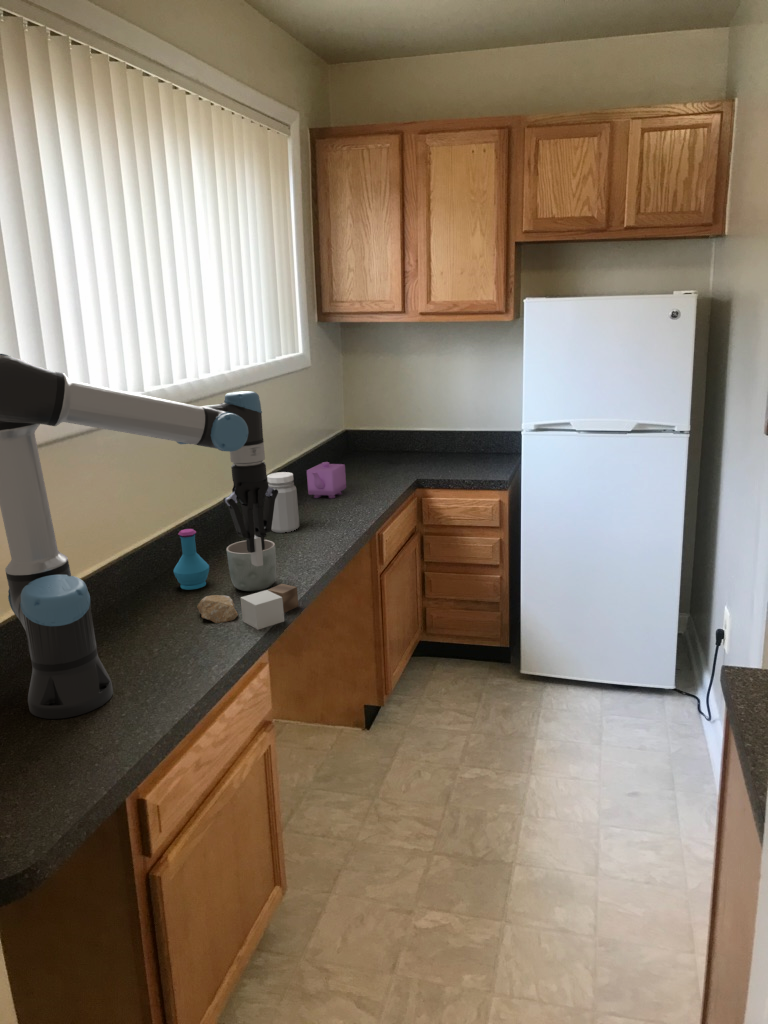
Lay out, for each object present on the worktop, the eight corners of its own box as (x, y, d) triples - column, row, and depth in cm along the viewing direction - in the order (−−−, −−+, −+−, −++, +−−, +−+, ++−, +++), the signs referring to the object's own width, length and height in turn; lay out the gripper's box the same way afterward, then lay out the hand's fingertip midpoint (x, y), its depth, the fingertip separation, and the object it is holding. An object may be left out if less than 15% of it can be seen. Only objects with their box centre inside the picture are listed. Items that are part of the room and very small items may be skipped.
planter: (242, 598, 210) (238, 556, 207) (223, 585, 220) (218, 545, 217) (286, 586, 217) (283, 546, 214) (265, 575, 227) (262, 536, 224)
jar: (295, 533, 265) (291, 477, 260) (265, 533, 267) (260, 478, 262) (303, 525, 274) (299, 471, 270) (274, 525, 276) (269, 471, 271)
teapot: (325, 489, 323) (322, 457, 320) (349, 490, 319) (347, 458, 316) (302, 502, 305) (299, 468, 302) (327, 503, 301) (324, 469, 298)
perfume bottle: (192, 577, 228) (186, 524, 224) (218, 582, 223) (212, 527, 219) (168, 588, 220) (161, 533, 217) (194, 593, 216) (187, 537, 212)
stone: (231, 606, 206) (229, 588, 205) (239, 620, 196) (238, 602, 195) (196, 612, 203) (194, 594, 202) (203, 627, 194) (201, 608, 192)
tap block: (257, 630, 190) (255, 605, 188) (242, 621, 195) (240, 597, 193) (284, 621, 194) (282, 597, 192) (269, 613, 199) (266, 589, 198)
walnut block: (284, 613, 199) (282, 593, 197) (269, 609, 202) (267, 589, 200) (298, 606, 203) (296, 586, 201) (283, 602, 206) (281, 583, 204)
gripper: (230, 469, 178) (240, 575, 184) (282, 459, 186) (290, 561, 192) (213, 465, 184) (223, 567, 190) (265, 456, 192) (273, 554, 197)
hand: (257, 564), depth 191 cm, fingers closed
